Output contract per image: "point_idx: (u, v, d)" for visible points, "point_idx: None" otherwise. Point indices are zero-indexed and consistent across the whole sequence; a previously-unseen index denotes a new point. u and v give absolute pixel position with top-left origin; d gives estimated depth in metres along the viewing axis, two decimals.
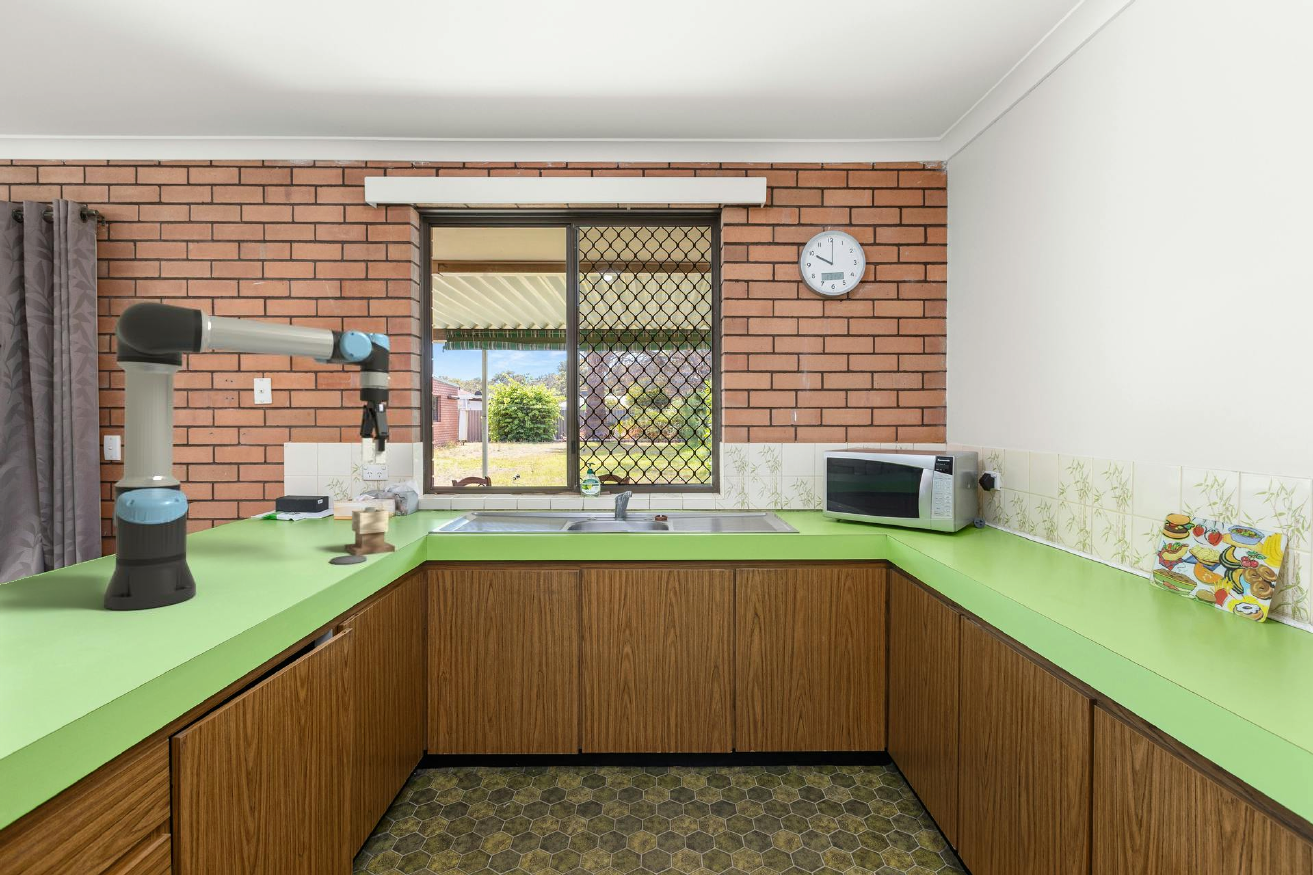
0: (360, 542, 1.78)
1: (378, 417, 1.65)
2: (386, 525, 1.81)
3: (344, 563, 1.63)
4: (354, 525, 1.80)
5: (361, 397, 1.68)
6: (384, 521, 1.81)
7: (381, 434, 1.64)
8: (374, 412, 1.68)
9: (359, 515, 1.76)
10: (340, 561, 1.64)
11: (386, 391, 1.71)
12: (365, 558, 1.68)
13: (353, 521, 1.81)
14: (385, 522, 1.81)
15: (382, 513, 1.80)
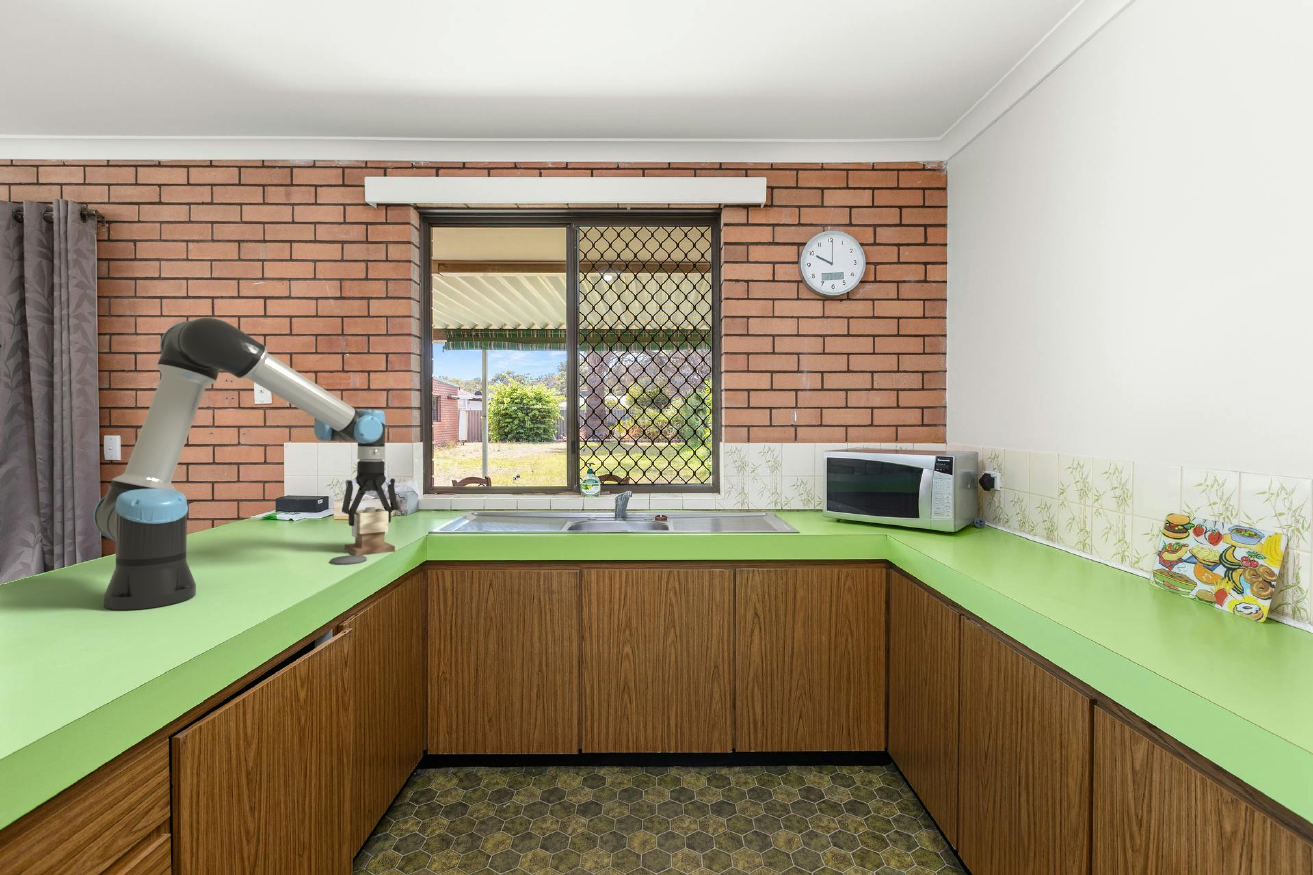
0: (360, 542, 1.78)
1: (345, 493, 1.77)
2: (386, 525, 1.81)
3: (344, 563, 1.63)
4: None
5: None
6: (384, 521, 1.81)
7: (342, 510, 1.77)
8: None
9: (359, 515, 1.76)
10: (340, 561, 1.64)
11: (364, 464, 1.77)
12: (365, 558, 1.68)
13: None
14: (385, 522, 1.81)
15: (382, 513, 1.80)
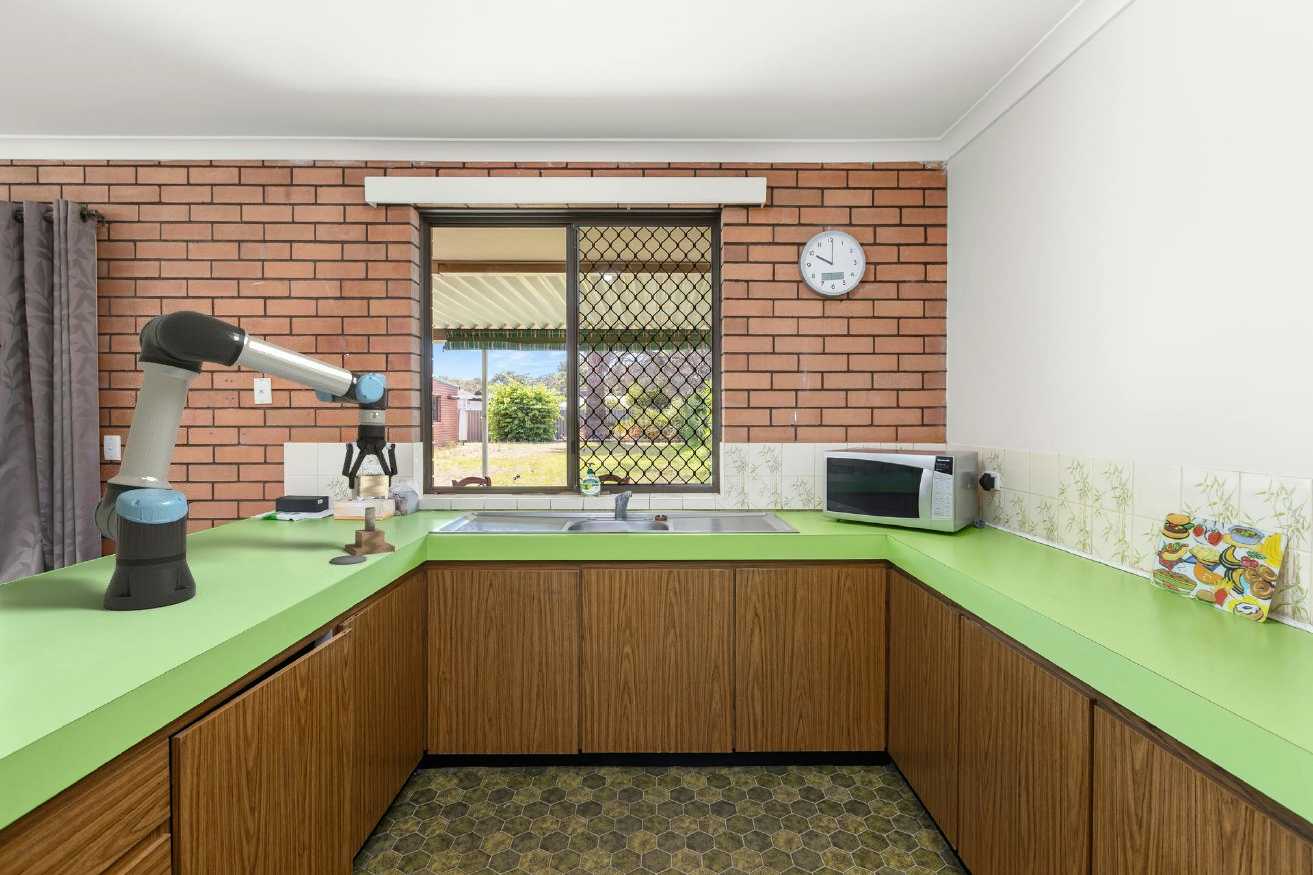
0: (360, 542, 1.78)
1: None
2: (386, 489, 1.81)
3: (344, 563, 1.63)
4: None
5: None
6: (384, 485, 1.80)
7: (342, 473, 1.76)
8: None
9: (359, 478, 1.76)
10: (340, 561, 1.64)
11: (364, 427, 1.77)
12: (365, 558, 1.68)
13: None
14: (385, 486, 1.80)
15: (382, 477, 1.80)
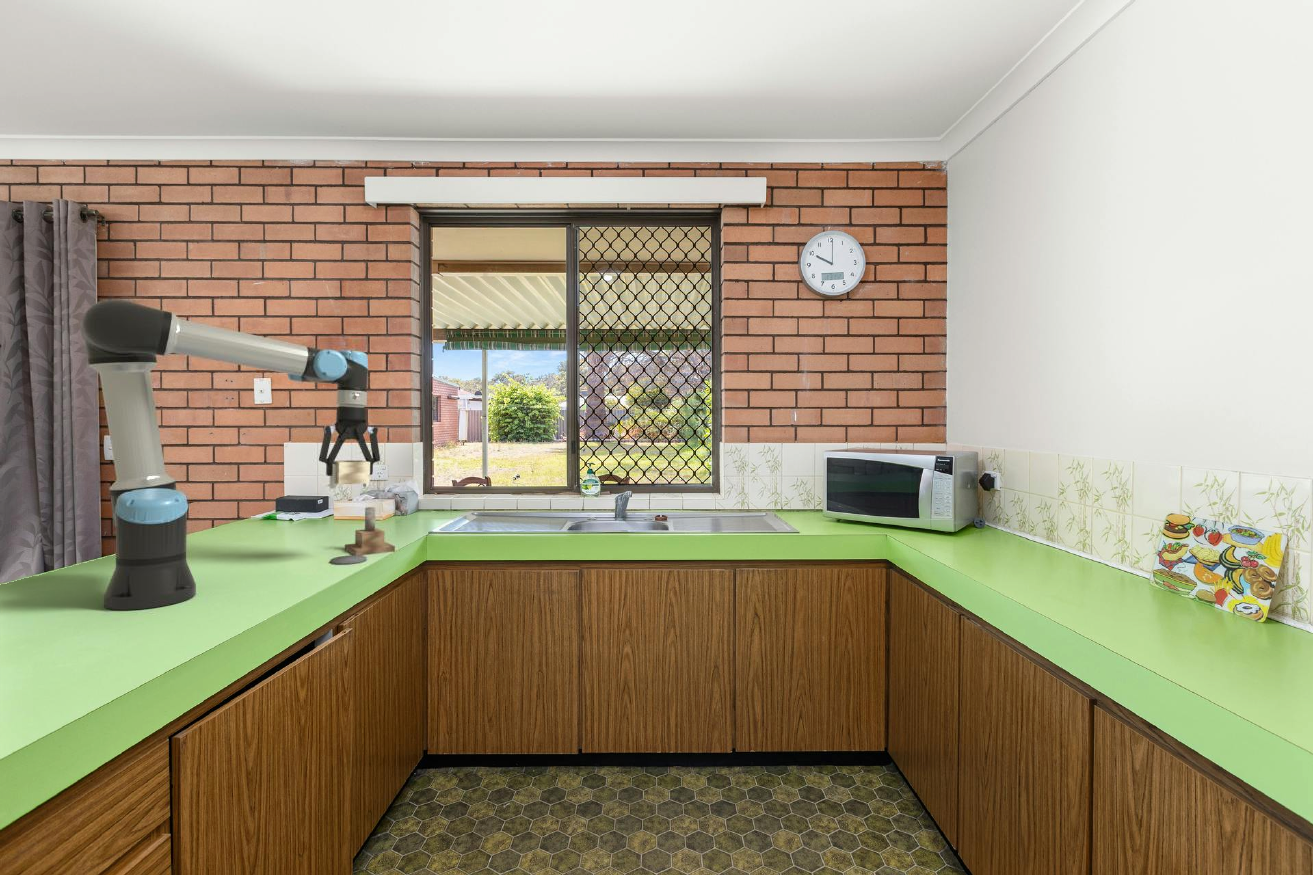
0: (360, 542, 1.78)
1: (323, 440, 1.63)
2: (367, 476, 1.67)
3: (344, 563, 1.63)
4: None
5: None
6: (365, 472, 1.67)
7: (319, 459, 1.63)
8: None
9: (338, 464, 1.62)
10: (340, 561, 1.64)
11: (343, 409, 1.64)
12: (365, 558, 1.68)
13: None
14: (366, 473, 1.67)
15: (363, 463, 1.66)
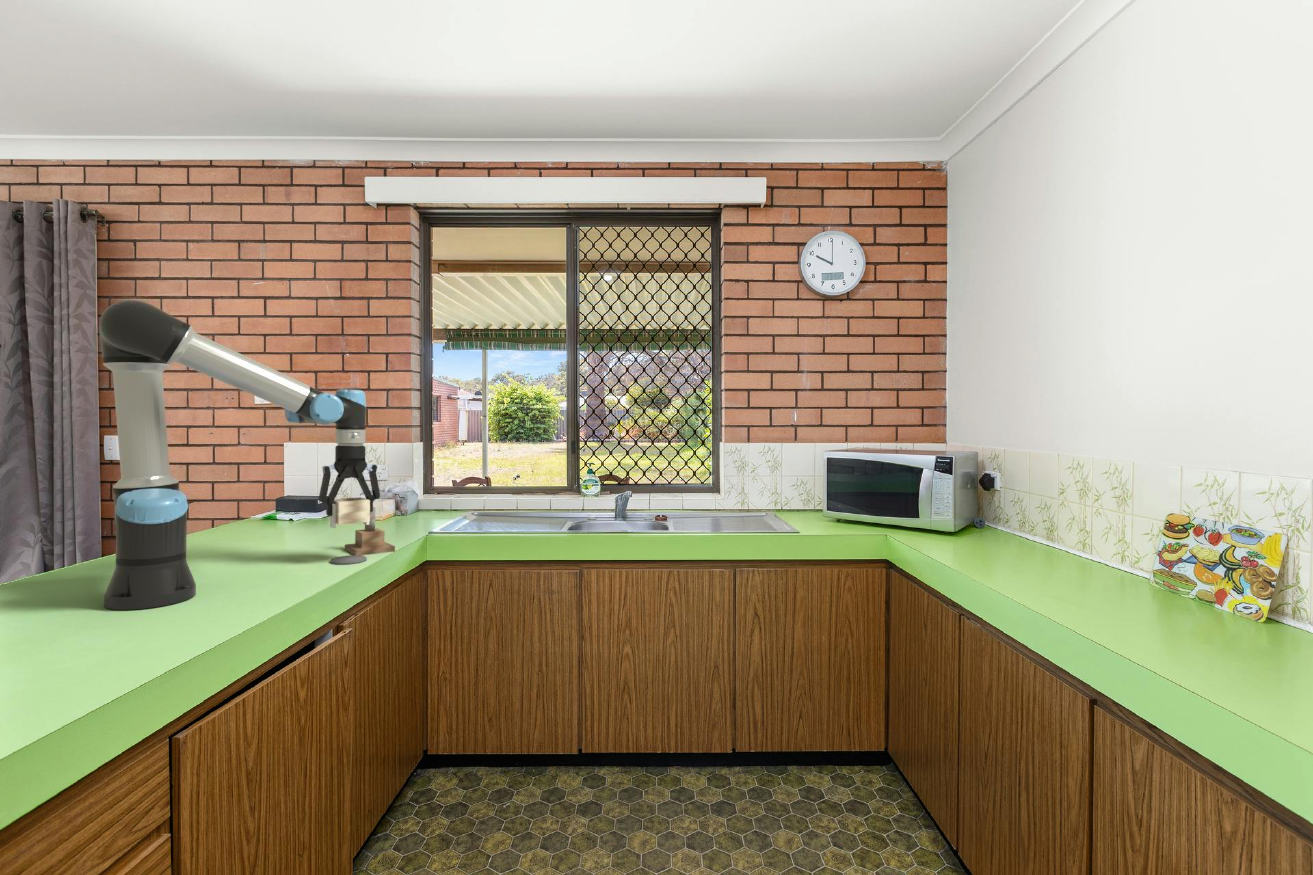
0: (360, 542, 1.78)
1: (322, 480, 1.63)
2: (367, 515, 1.67)
3: (344, 563, 1.63)
4: None
5: None
6: (365, 510, 1.66)
7: (319, 499, 1.63)
8: None
9: (337, 504, 1.62)
10: (340, 561, 1.64)
11: (342, 448, 1.63)
12: (365, 558, 1.68)
13: None
14: (366, 511, 1.67)
15: (363, 502, 1.66)
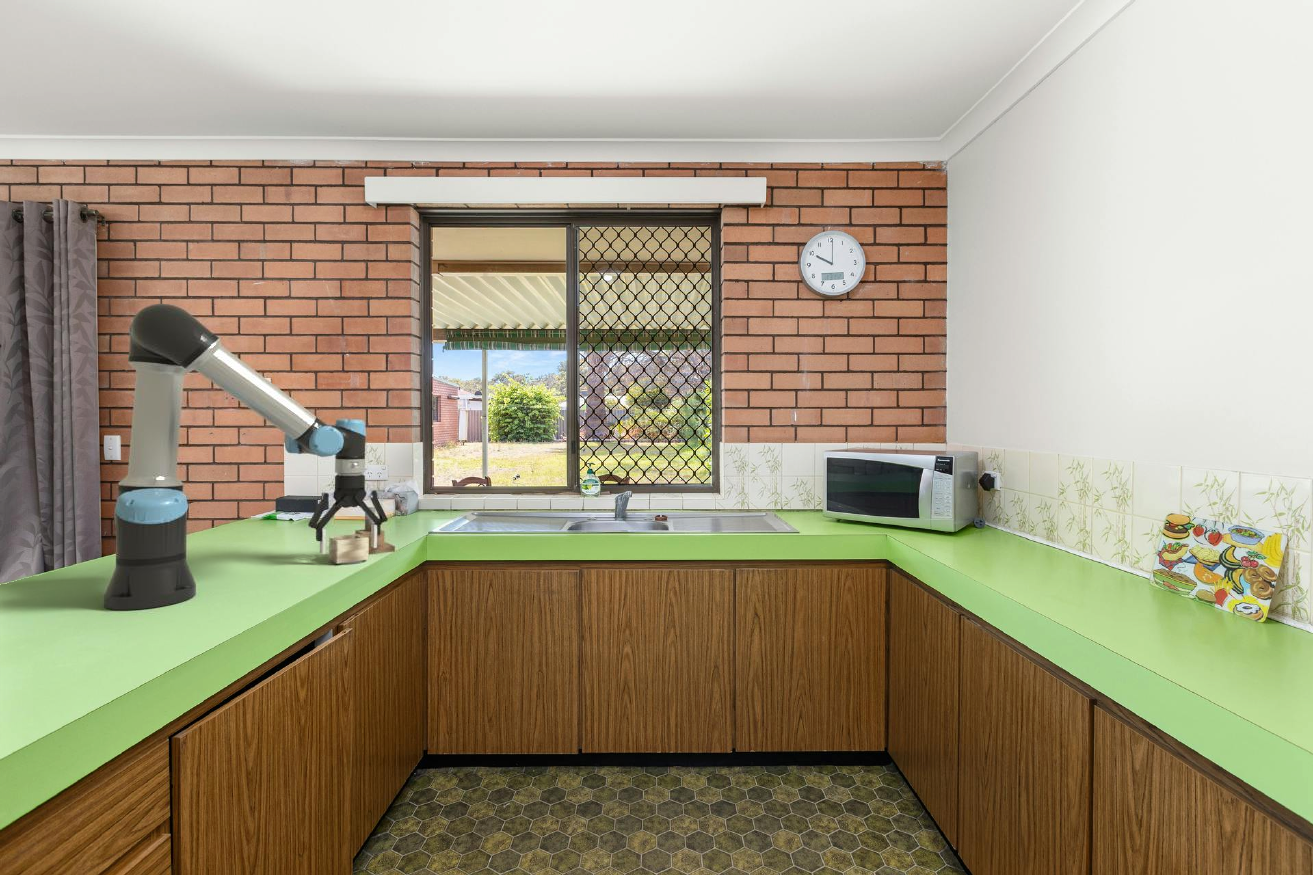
0: None
1: (318, 506, 1.63)
2: (366, 553, 1.67)
3: (344, 563, 1.63)
4: (331, 553, 1.66)
5: None
6: (364, 548, 1.66)
7: (309, 524, 1.61)
8: None
9: (336, 543, 1.62)
10: None
11: (341, 478, 1.63)
12: None
13: (330, 548, 1.66)
14: (365, 550, 1.67)
15: (362, 540, 1.66)
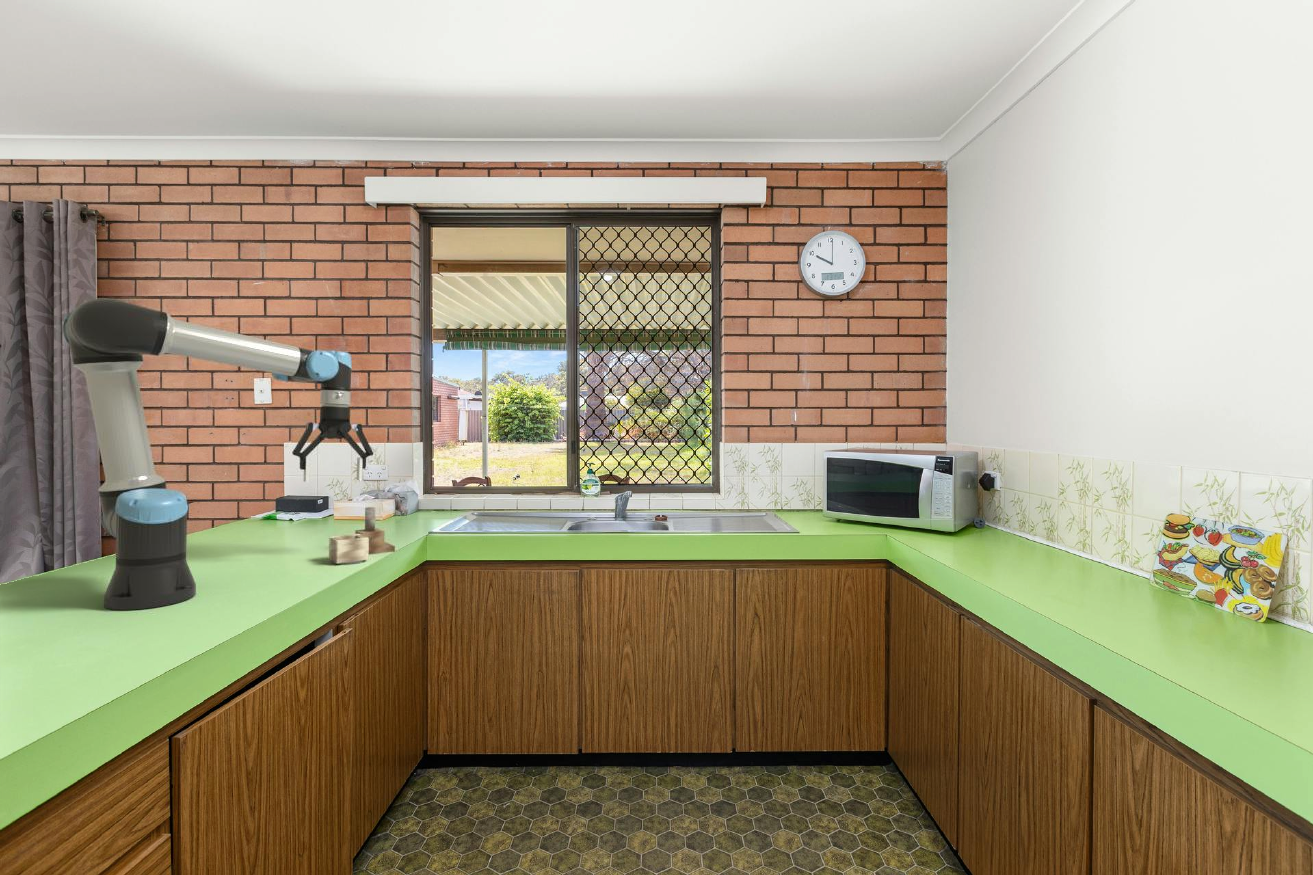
0: None
1: (302, 435, 1.65)
2: (366, 553, 1.67)
3: (344, 563, 1.63)
4: (331, 553, 1.66)
5: None
6: (364, 548, 1.66)
7: (293, 452, 1.63)
8: None
9: (336, 543, 1.62)
10: None
11: (326, 408, 1.65)
12: None
13: (330, 548, 1.66)
14: (365, 550, 1.67)
15: (362, 540, 1.66)
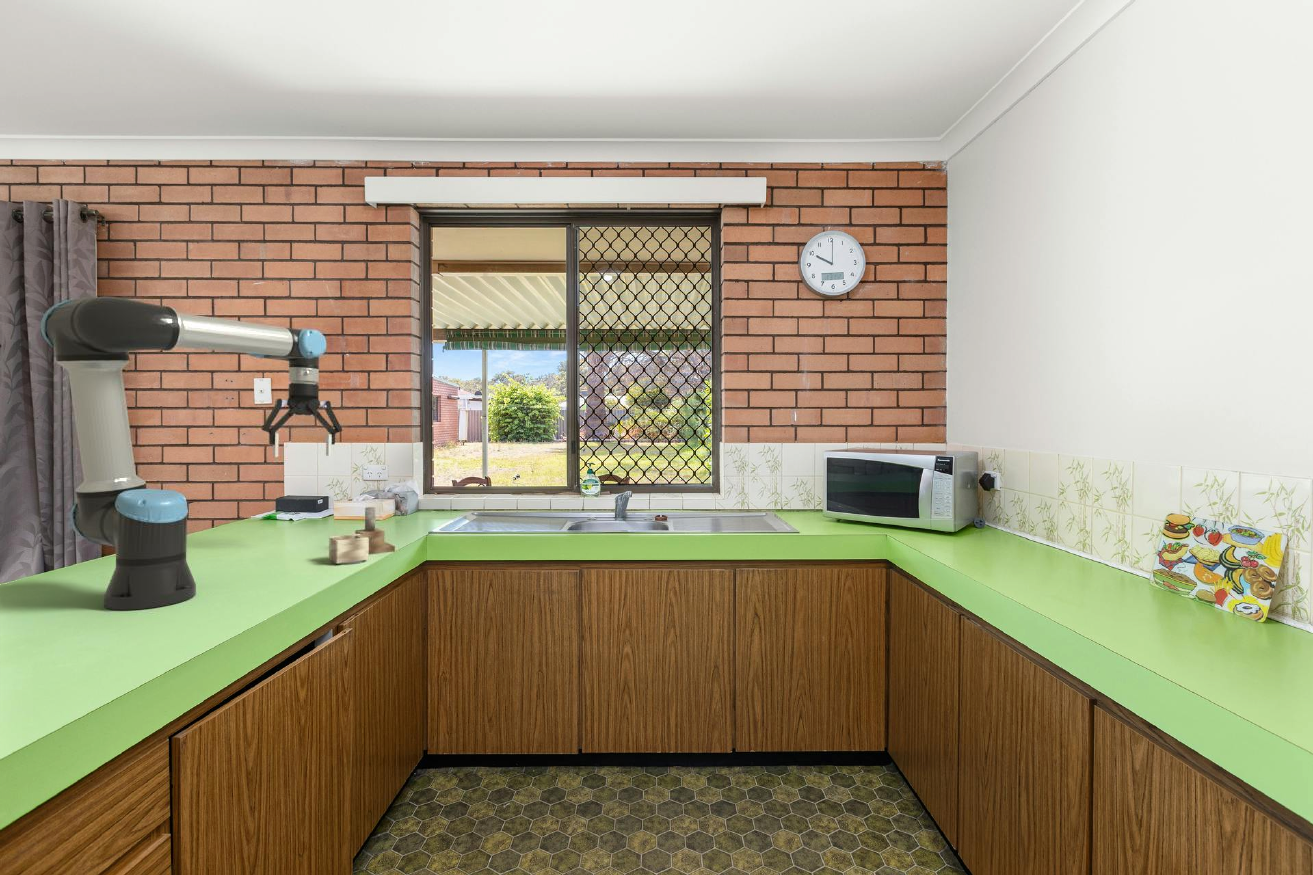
0: None
1: None
2: (366, 553, 1.67)
3: (344, 563, 1.63)
4: (331, 553, 1.66)
5: None
6: (364, 548, 1.66)
7: (262, 427, 1.67)
8: None
9: (336, 543, 1.62)
10: None
11: (295, 385, 1.70)
12: None
13: (330, 548, 1.66)
14: (365, 550, 1.67)
15: (362, 540, 1.66)
